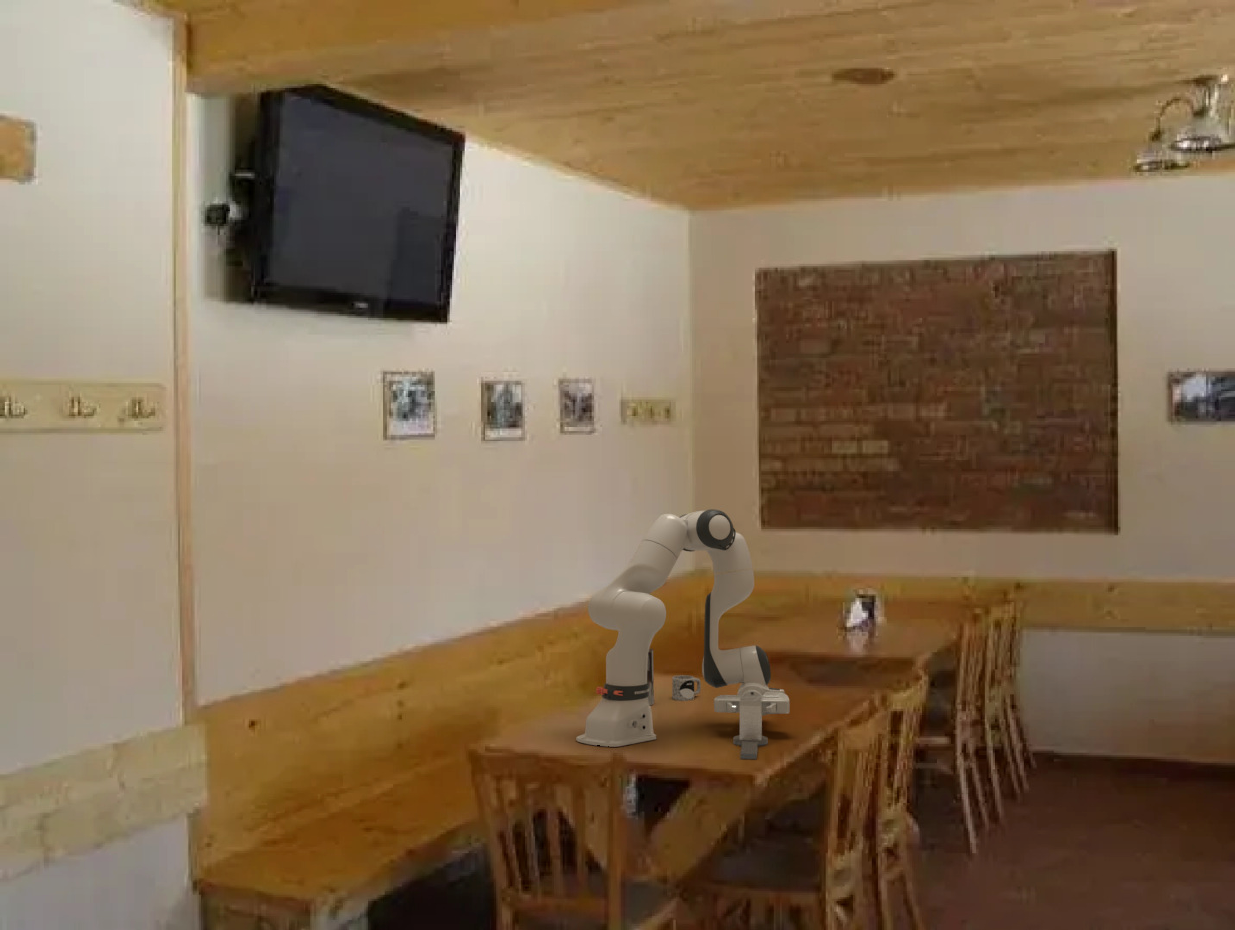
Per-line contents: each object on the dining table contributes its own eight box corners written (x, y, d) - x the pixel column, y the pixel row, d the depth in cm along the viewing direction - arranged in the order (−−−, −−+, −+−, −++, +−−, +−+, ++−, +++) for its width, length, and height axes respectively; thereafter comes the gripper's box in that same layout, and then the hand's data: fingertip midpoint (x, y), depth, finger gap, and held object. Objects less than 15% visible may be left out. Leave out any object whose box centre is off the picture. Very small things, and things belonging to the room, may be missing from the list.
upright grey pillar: (761, 740, 396) (761, 701, 396) (739, 740, 397) (739, 701, 396) (761, 736, 401) (761, 697, 401) (740, 735, 402) (740, 697, 402)
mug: (681, 701, 459) (681, 679, 459) (668, 698, 464) (668, 676, 464) (707, 698, 465) (707, 676, 465) (693, 694, 470) (693, 673, 470)
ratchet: (733, 739, 404) (733, 719, 404) (767, 740, 403) (767, 719, 403) (730, 759, 381) (730, 737, 381) (766, 760, 380) (766, 738, 380)
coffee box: (654, 701, 459) (654, 648, 458) (652, 705, 452) (652, 651, 452) (624, 701, 460) (624, 648, 459) (622, 705, 453) (622, 651, 453)
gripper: (714, 688, 416) (711, 697, 402) (789, 689, 414) (789, 698, 400) (714, 711, 416) (711, 721, 403) (789, 712, 414) (789, 722, 400)
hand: (751, 709), depth 401 cm, fingers open, 8 cm apart
